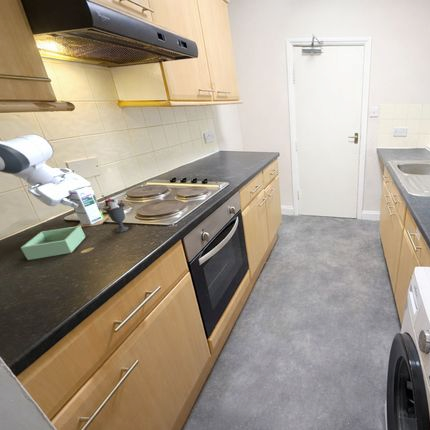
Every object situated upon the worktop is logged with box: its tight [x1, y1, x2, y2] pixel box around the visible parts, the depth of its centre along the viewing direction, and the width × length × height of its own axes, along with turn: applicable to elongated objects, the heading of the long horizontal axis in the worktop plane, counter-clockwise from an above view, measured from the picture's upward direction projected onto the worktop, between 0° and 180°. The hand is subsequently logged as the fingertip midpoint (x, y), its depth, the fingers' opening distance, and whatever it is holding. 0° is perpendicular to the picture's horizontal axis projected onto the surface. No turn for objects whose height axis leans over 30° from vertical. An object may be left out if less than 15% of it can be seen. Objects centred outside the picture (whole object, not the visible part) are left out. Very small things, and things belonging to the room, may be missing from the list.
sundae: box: [101, 194, 129, 233], centre depth 100 cm, size 7×7×15 cm
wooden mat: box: [76, 214, 110, 228], centre depth 110 cm, size 9×9×1 cm
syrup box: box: [68, 186, 105, 226], centre depth 107 cm, size 6×6×14 cm
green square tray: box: [20, 225, 86, 261], centre depth 90 cm, size 11×11×5 cm
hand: (86, 202), depth 106 cm, fingers open, 8 cm apart
